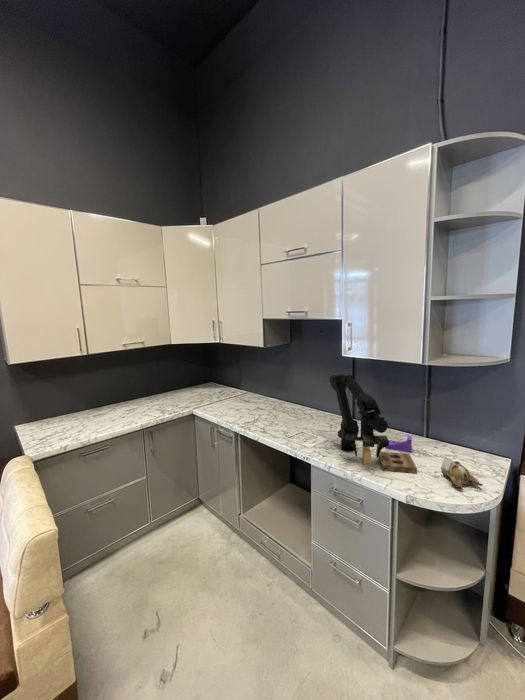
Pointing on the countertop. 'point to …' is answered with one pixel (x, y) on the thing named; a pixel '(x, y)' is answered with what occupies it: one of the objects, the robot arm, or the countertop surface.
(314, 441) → the photo frame
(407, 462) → the brown slotted square board
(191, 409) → the countertop surface
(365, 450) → the tan wooden block
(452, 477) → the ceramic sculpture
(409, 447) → the bracket
